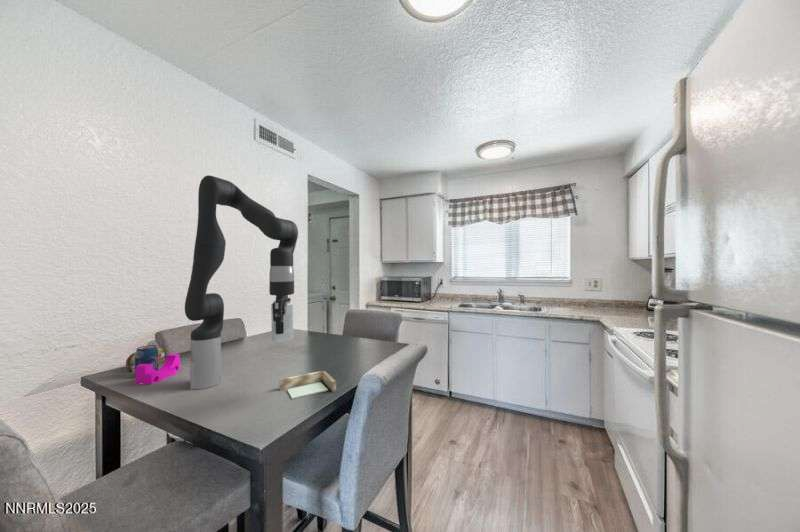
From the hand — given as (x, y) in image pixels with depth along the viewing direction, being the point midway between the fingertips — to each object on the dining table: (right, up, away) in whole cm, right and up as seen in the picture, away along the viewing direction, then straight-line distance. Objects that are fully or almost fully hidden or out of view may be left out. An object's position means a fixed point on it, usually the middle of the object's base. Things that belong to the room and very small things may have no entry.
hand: (282, 331), depth 95 cm
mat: (+6, -22, +7) cm, 24 cm away
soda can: (-61, -23, +20) cm, 68 cm away
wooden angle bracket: (+6, -22, +7) cm, 24 cm away
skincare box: (0, -3, 0) cm, 3 cm away
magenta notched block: (-54, -23, +18) cm, 62 cm away
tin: (-70, -23, +30) cm, 79 cm away
